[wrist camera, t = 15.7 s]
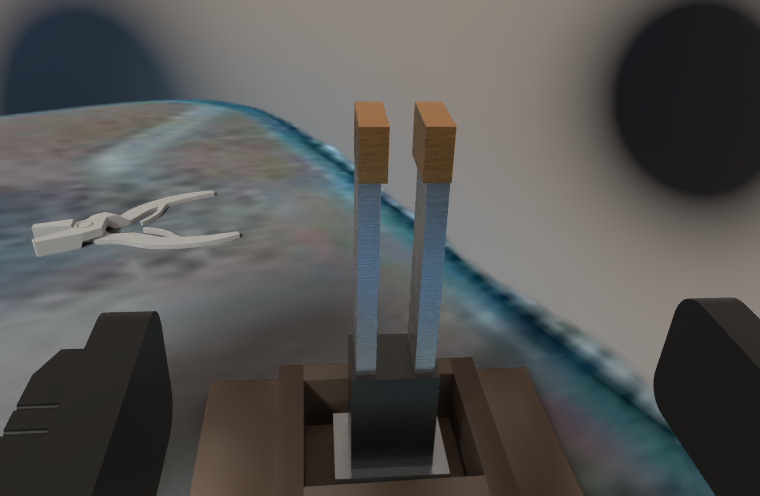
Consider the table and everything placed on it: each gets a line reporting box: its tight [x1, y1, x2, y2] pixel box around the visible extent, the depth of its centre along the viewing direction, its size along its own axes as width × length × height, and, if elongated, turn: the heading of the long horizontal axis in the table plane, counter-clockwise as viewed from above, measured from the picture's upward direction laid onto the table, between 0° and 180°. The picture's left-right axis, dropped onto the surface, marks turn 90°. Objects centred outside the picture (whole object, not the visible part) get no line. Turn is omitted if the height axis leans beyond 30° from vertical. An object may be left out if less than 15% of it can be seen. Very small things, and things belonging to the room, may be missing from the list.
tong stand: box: [189, 357, 584, 496], centre depth 31 cm, size 18×14×4 cm
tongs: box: [333, 102, 456, 485], centre depth 27 cm, size 5×4×18 cm
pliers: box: [32, 191, 240, 257], centre depth 54 cm, size 10×2×15 cm
